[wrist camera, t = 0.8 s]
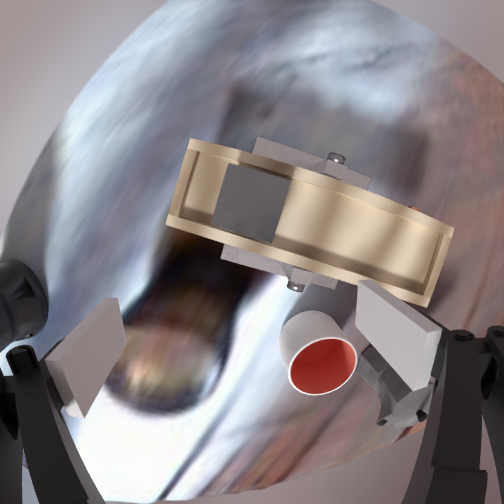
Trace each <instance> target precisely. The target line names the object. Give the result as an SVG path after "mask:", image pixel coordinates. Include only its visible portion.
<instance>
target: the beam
mask: <svg viewBox="0 0 504 504" xmlns="http://www.w3.org/2000/svg"><path fill="white" fill-rule="evenodd" d="M228 163H231V164H235V165H239V166H242V167H246V168H250V169H253V170H257V171H260V172H264V173H267V174H270V175H274V176H277V177H280V178H284V179H287V180H290V181H291V184H290V187H289V190H288V194H287V197H286V200H285V203H284V207H283V210H282V213H281V216H280V220H279V223H278V226H277V229H276V232H275V236H274V239H273V242H272V243H269V242H265V241H262V240H259V239H256V238H253V237H250V236H246V235H243V234H240V233H237V232H234V231H230V230H227V229H224V228H221V227H218V226H214V225H211V220H212V217H213V213H214V210H215V206H216V203H217V199H218V196H219V193H220V189H221V186H222V183H223V179H224V176H225V173H226V169H227V166H228ZM166 225H168V226H172V227H175V228H178V229H181V230H184V231H187V232H190V233H194V234H197V235H200V236H203V237H206V238H209V239H212V240H216V241H219V242H222V243H225V244H228V245H231V246H234V247H238V248H241V249H244V250H247V251H250V252H253V253H256V254H260V255H263V256H266V257H269V258H272V259H275V260H278V261H282V262H285V263H288V264H291V265H294V266H297V267H300V268H304V269H307V270H310V271H313V272H316V273H319V274H322V275H326V276H329V277H332V278H335V279H338V280H341V281H344V282H348V283H351V284H354V285H357V286H358V281H359V280H368V279H371V280H372V281H374V282H375V283H377V284H378V285H380V286H381V287H383V288H384V289H385V290H387V291H388V292H390V293H391V294H393V295H394V296H396V297H397V298H399V299H401V300H404V301H407V302H410V303H414V304H417V305H420V306H423V307H426V308H427V306H428V303H429V301H430V298H431V296H432V293H433V291H434V288H435V286H436V283H437V280H438V278H439V275H440V272H441V269H442V266H443V263H444V260H445V257H446V254H447V251H448V248H449V245H450V241H451V238H452V234H453V231H454V228H453V227H450V226H448V225H446V224H444V223H442V222H440V221H438V220H436V219H433V218H431V217H429V216H427V215H425V214H422V213H420V212H419V209H417V208H415V207H413V206H408V207H406V206H404V205H401V204H399V203H397V202H394V201H392V200H389V199H387V198H384V197H382V196H379V195H377V194H374V193H372V192H369V191H366V190H364V189H361V188H358V187H356V186H353V185H350V184H348V183H345V182H342V181H339V180H336V179H333V178H331V177H328V176H325V175H322V174H319V173H316V172H313V171H310V170H307V169H303V168H300V167H297V166H294V165H291V164H287V163H284V162H281V161H277V160H274V159H271V158H267V157H264V156H260V155H256V154H253V153H249V152H245V151H242V150H238V149H234V148H230V147H226V146H222V145H218V144H214V143H209V142H205V141H201V140H196V139H192V138H190V141H189V145H188V148H187V151H186V154H185V157H184V160H183V164H182V167H181V170H180V174H179V177H178V181H177V184H176V188H175V191H174V195H173V199H172V202H171V206H170V210H169V214H168V217H167V221H166Z"/></svg>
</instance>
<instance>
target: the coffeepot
mask: <svg viewBox="0 0 504 504" xmlns="http://www.w3.org/2000/svg"><path fill="white" fill-rule="evenodd" d="M356 371H357V372H358V373H359V374H360V376H361V377H362V378H363V379H364V381H366V382H367V383H368V384H369V385H370V386H371V387H372V388H373V389H374V390H375V391H377V392H378V396H379V398H380V401H381V410H380V415H379V418H378V420H377V421H376V425H378V426H388V425H393V426H394V427H395V429H400V428H404V427H408V426H412V425H414V424H416V423H417V422H418V421H419V422H422V421H424V420H425V419H426V418H427V416H428V415H427V414H428V413H429V409H430V403H431V400H429V398H430V395H431V392H432V389H433V386H434V383H432V382H431V381H429V382H428V386H427V387H424V388H421V389H418V390H416V391H412V390H411V388H410V387H409V386H408V385H407V384H406V383H405V381H404V380H403V379H402V378H401V377H400V376H399V375H398V373H397V372H396V371H395V370H394V369H393V368H392V367H391V365H390V364H389V363H388V362H387V361H386V360H385V359H384V357H383V356H382V355H381V354H380V353H379V352H378V351H377V350H376V348H375V347H374V346H373V345H371V346H370V347H368V348H367V349H366V350H365V351H364V352H363V353H362V354H361V356H360V359H359V361H358V365H357V370H356ZM431 376H432V375H431Z"/></svg>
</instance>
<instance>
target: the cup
mask: <svg viewBox="0 0 504 504" xmlns="http://www.w3.org/2000/svg"><path fill="white" fill-rule="evenodd" d="M279 348H280V351H281V355H282V358H283V361H284V365H285V368H286V371H287V375H288V378H289V381H290V383H291V384H292V386H293V387H294V388H295V389H296V390H298V391H300V392H302V393H304V394H308V395H322V394H326V393H329V392H332V391H334V390H336V389H338V388H339V387H341V386H342V385H343V384H345V383H346V382H347V381H348V380H349V378H350V377H351V376H352V374H353V372H354V370H355V368H356V365H357V353H356V350H355V348H354V346H353V345H352V343H351V342H350V341H349V339H348V338H347V337H346V335H345V334H344V333H343V331H342V330H341V329H340V327H339V326H338V325H337V324H336V322H335V321H334V320H333V319H332V318H331V317H330V316H329V315H327V314H326V313H323V312H320V311H305V312H302V313H299V314H297V315H295V316H293V317H292V318H291V319H290V320H288V321H287V322H286V324H285V325H284V326H283V328H282V330H281V332H280V335H279Z"/></svg>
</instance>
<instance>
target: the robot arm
mask: <svg viewBox="0 0 504 504" xmlns="http://www.w3.org/2000/svg"><path fill="white" fill-rule="evenodd" d="M47 315H48V308H47V301H46V297H45V294H44V291H43V288H42V286H41V284H40V282H39V280H38V279H37V277H36V276H35V274H34V273H33V272H32V270H31V269H30V268H29V267H27V266H26V265H25V264H23V263H22V262H20V261H17V260H9V261H6V262H4V263H1V264H0V352H1V351H2V350H4V349H5V348H6V347H7V346H8V345H9V344H11V343H12V342H15V341H19V340H24V339H28V338H32V337H34V336H35V335H36V334H38V333H39V332H40V331H41V330H42V329H43V328H44V326H45V324H46V321H47ZM355 326H356V327H357V328H358V329H359V331H360V332H361V333H362V334H363V335H364V336H365V337H366V338H367V339H368V341H369V342H370V343H371V344H372V345H373V346H374V347H375V348H376V350H377V351H378V352H379V353H380V354H381V355H382V356H383V357H384V359H385V360H386V361H387V362H388V363H389V364H390V365H391V367H392V368H393V369H394V370H395V371H396V372H397V373H398V375H399V376H400V377H401V378H402V379H403V380H404V381H405V383H406V384H407V385H408V386H409V387H410V388H411V390H412V391H416V390H418V389H421V388H424V387H427V386H428V382H429V379H430V376H431V375H432V376H433V377H434V378H435V379H436V380H435V383H434V386H433V389H432V392H431V395H430V398H429V400H431V403H430V409H429V413H428V418H427V423H426V427H425V431H424V435H423V440H422V443H421V447H420V451H419V454H418V458H417V461H416V464H415V467H414V471H413V474H412V477H411V480H410V482H409V486H408V488H407V491H406V494H405V496H404V499H403V501H402V504H484V502H485V495H486V488H487V472H486V470H480V469H479V464H480V453H481V436H482V434H481V433H482V415H483V418H484V422H485V425H486V428H487V432H488V436H489V439H490V443H491V447H492V452H493V456H494V460H495V465H496V469H497V475H498V480H499V487H500V493H501V500H502V504H504V326H500V325H498V326H491V327H489V328H488V330H487V333H486V337H485V338H476V337H475V335H474V334H472V333H471V332H469V331H466V330H457V329H456V330H452V331H450V330H448V329H447V328H445V327H444V326H443V325H441V324H440V323H438V322H436V321H435V320H434V319H433V318H432V319H431V317H430V316H428V315H427V314H425V313H423V312H420V311H417V310H415V309H413V308H412V307H410V306H409V305H408V304H406V303H405V302H403V301H402V300H400V299H399V298H397V297H396V296H394V295H393V294H391V293H390V292H388V291H387V290H385V289H384V288H383V287H381V286H380V285H378V284H377V283H375V282H374V281H372V280H371V279H368V280H359V281H358V292H357V307H356V319H355ZM127 343H128V342H127V338H126V334H125V330H124V326H123V321H122V317H121V312H120V307H119V303H118V298H105V299H104V300H103V301H102V302H101V303H100V304H99V305H98V306H97V307H96V308H95V309H94V310H93V311H92V312H91V313H90V314H89V315H88V316H87V317H86V318H85V319H84V320H83V321H82V322H81V323H80V324H79V325H78V326H77V327H76V328H75V329H74V330H73V331H72V332H71V333H70V334H69V335H68V336H67V337H65V338H64V339H62V340H60V341H58V342H57V343H56V344H55V345H54V346H53V348H51V349H50V350H49V353H47V354H46V355H45V356H44V357H43V358H42V359H41V360H40V361H39V362H38V360H37V357H36V354H35V352H34V349H33V347H32V346H30V345H20V346H17V347H14V348H12V349H11V350H9V351H8V352H7V354H6V358H7V361H8V363H9V366H10V368H11V370H12V373H13V376H4V375H3V373H2V370H1V368H0V504H22V458H23V448H24V453H25V457H26V461H27V465H28V469H29V472H30V476H31V479H32V483H33V486H34V489H35V492H36V495H37V498H38V501H39V504H106V503H105V501H104V500H103V498H102V496H101V495H100V493H99V491H98V490H97V488H96V486H95V484H94V482H93V481H92V479H91V477H90V475H89V473H88V471H87V469H86V467H85V465H84V463H83V461H82V459H81V457H80V455H79V453H78V451H77V448H76V446H75V444H74V442H73V439H72V437H71V435H70V432H69V430H68V427H67V425H66V422H65V420H64V417H63V415H62V413H61V411H60V410H61V409H62V407H63V406H65V408H66V410H67V412H68V414H69V416H73V417H79V418H85V416H86V414H87V413H88V411H89V409H90V407H91V405H92V403H93V402H94V400H95V398H96V396H97V394H98V393H99V391H100V389H101V387H102V385H103V384H104V382H105V380H106V378H107V377H108V375H109V373H110V372H111V370H112V368H113V366H114V365H115V363H116V361H117V360H118V358H119V356H120V355H121V353H122V351H123V349H124V348H125V346H126V345H127Z"/></svg>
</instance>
